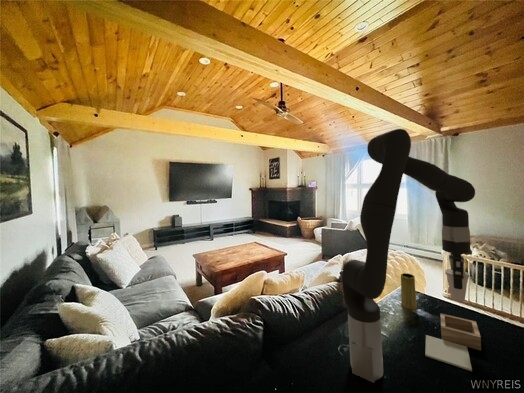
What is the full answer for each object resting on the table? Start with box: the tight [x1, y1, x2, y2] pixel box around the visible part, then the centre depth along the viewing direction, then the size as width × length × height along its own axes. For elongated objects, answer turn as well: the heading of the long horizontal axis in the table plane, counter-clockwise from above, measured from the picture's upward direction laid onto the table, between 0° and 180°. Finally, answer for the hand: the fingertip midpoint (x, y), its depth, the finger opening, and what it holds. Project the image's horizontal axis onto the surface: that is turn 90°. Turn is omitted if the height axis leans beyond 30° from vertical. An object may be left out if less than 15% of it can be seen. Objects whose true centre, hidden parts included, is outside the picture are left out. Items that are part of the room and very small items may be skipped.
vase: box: [400, 272, 418, 311], centre depth 100 cm, size 6×6×14 cm
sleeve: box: [439, 312, 482, 351], centre depth 79 cm, size 10×10×4 cm
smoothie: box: [444, 268, 470, 303], centre depth 78 cm, size 6×6×14 cm
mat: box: [424, 334, 473, 372], centre depth 72 cm, size 11×11×1 cm
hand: (457, 284), depth 78 cm, fingers closed on smoothie, 6 cm apart
